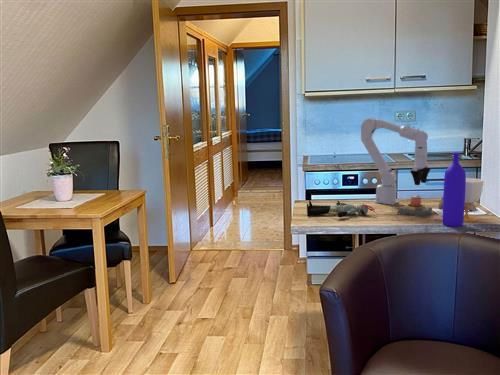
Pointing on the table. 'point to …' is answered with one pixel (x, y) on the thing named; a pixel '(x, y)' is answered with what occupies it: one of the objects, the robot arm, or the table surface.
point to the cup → (472, 194)
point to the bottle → (454, 194)
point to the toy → (337, 209)
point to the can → (415, 201)
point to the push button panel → (415, 210)
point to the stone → (470, 207)
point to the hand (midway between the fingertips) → (420, 183)
